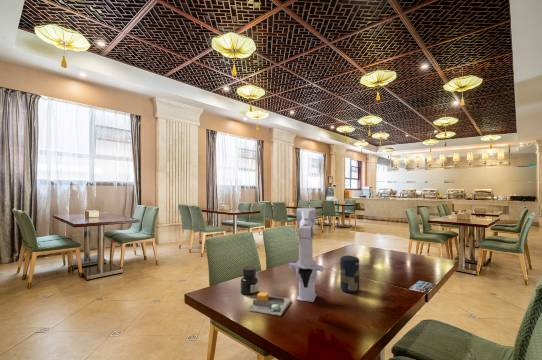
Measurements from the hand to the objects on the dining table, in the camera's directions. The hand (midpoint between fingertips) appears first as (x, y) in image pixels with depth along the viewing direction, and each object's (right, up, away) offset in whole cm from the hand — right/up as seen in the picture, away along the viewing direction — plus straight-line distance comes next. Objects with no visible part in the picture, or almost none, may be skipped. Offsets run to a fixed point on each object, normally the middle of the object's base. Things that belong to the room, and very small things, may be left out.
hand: (305, 286), depth 113 cm
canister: (+26, -12, +25) cm, 38 cm away
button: (-13, -9, -1) cm, 16 cm away
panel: (-15, -11, +6) cm, 19 cm away
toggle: (-19, -9, +7) cm, 22 cm away
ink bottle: (-26, -12, +22) cm, 36 cm away
